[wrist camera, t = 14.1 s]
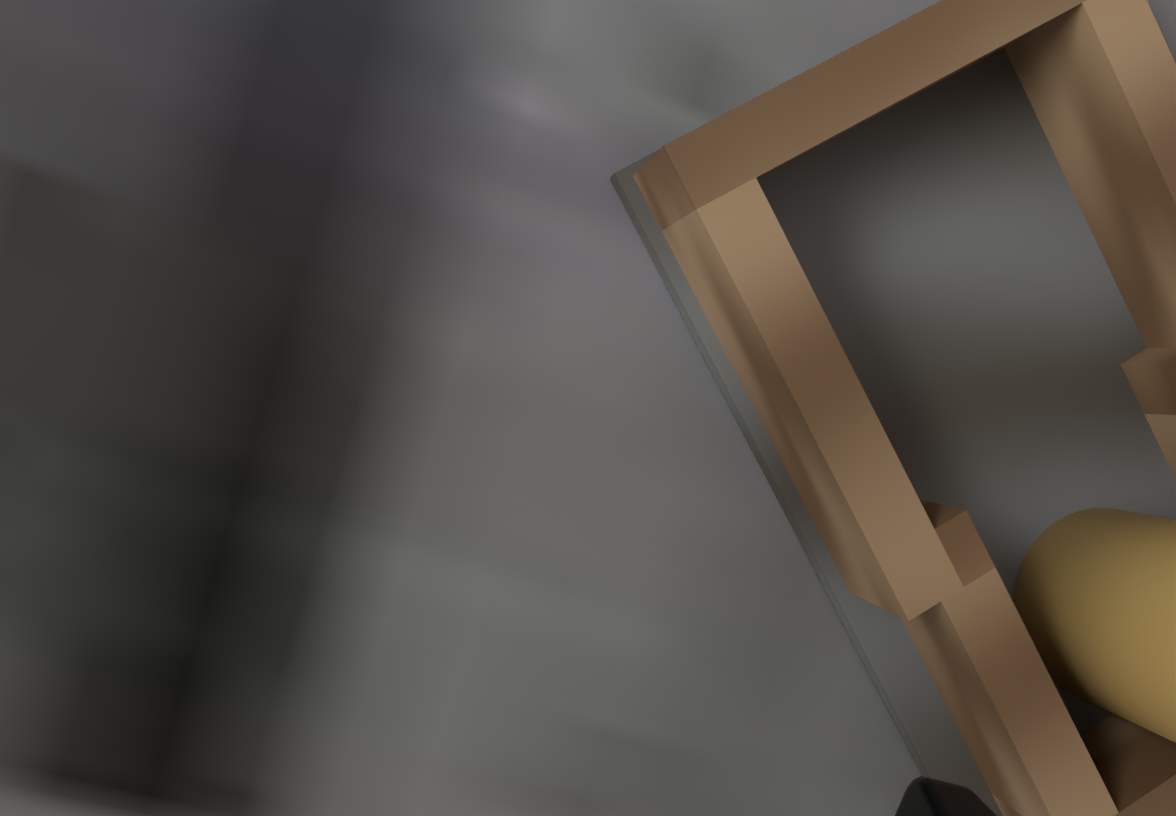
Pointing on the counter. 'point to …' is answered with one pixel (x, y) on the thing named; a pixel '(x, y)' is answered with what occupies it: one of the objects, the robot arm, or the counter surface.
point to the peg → (1106, 611)
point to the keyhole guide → (949, 351)
